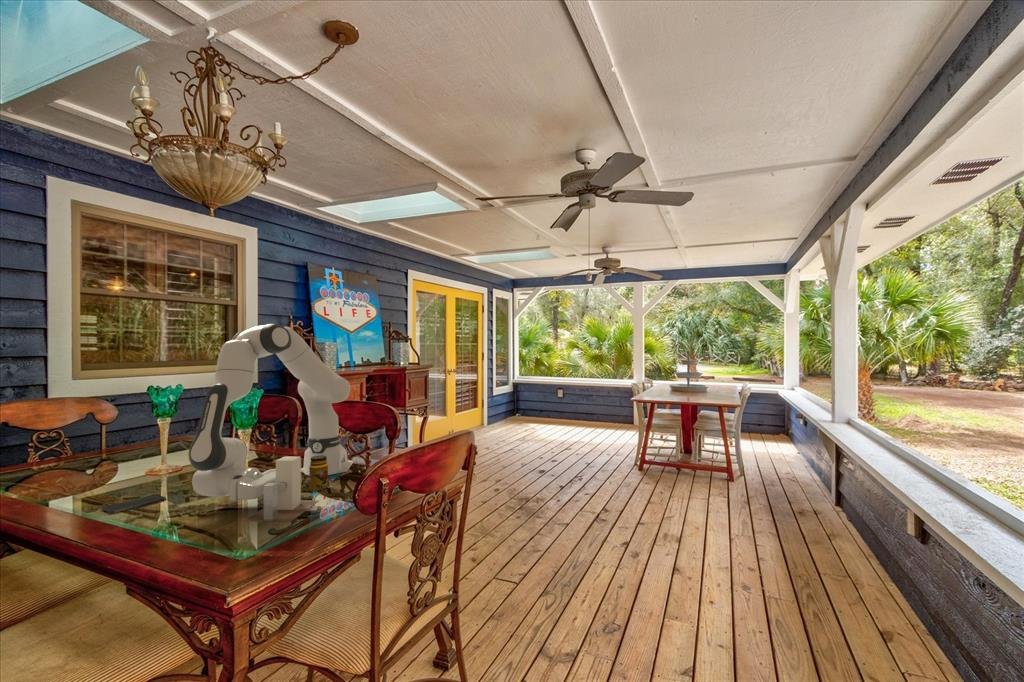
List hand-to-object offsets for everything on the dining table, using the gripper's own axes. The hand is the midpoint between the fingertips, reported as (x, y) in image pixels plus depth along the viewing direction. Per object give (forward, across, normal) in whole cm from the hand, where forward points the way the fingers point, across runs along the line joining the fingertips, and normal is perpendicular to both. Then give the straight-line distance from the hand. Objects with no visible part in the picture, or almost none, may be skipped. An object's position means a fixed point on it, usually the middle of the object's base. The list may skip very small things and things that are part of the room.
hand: (291, 482), depth 146 cm
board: (-1, +3, -8) cm, 9 cm away
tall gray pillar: (-1, 0, -8) cm, 8 cm away
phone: (-53, -3, -9) cm, 54 cm away
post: (-1, +10, -8) cm, 13 cm away
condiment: (-1, -19, -9) cm, 21 cm away
